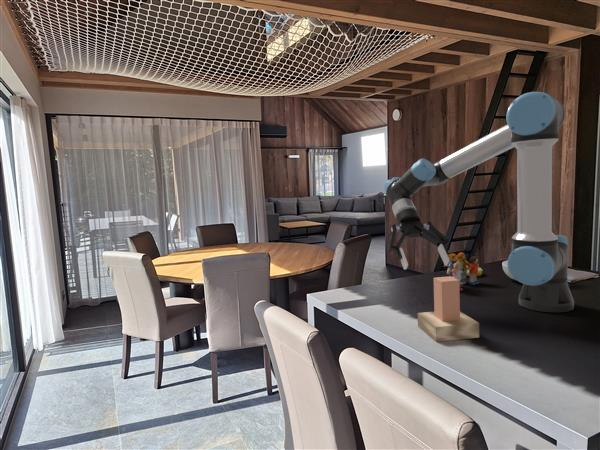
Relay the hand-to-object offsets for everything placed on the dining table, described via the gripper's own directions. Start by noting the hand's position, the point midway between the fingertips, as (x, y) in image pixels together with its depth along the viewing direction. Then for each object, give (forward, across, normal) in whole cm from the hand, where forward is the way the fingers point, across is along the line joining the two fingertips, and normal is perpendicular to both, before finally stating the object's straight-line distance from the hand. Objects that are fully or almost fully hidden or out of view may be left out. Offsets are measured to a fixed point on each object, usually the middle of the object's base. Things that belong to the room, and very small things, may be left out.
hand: (426, 265), depth 126 cm
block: (+19, +2, +2) cm, 19 cm away
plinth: (+22, +2, 0) cm, 22 cm away
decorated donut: (-19, -38, -42) cm, 60 cm away
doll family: (-8, -25, -31) cm, 41 cm away
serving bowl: (-6, -54, -29) cm, 62 cm away
